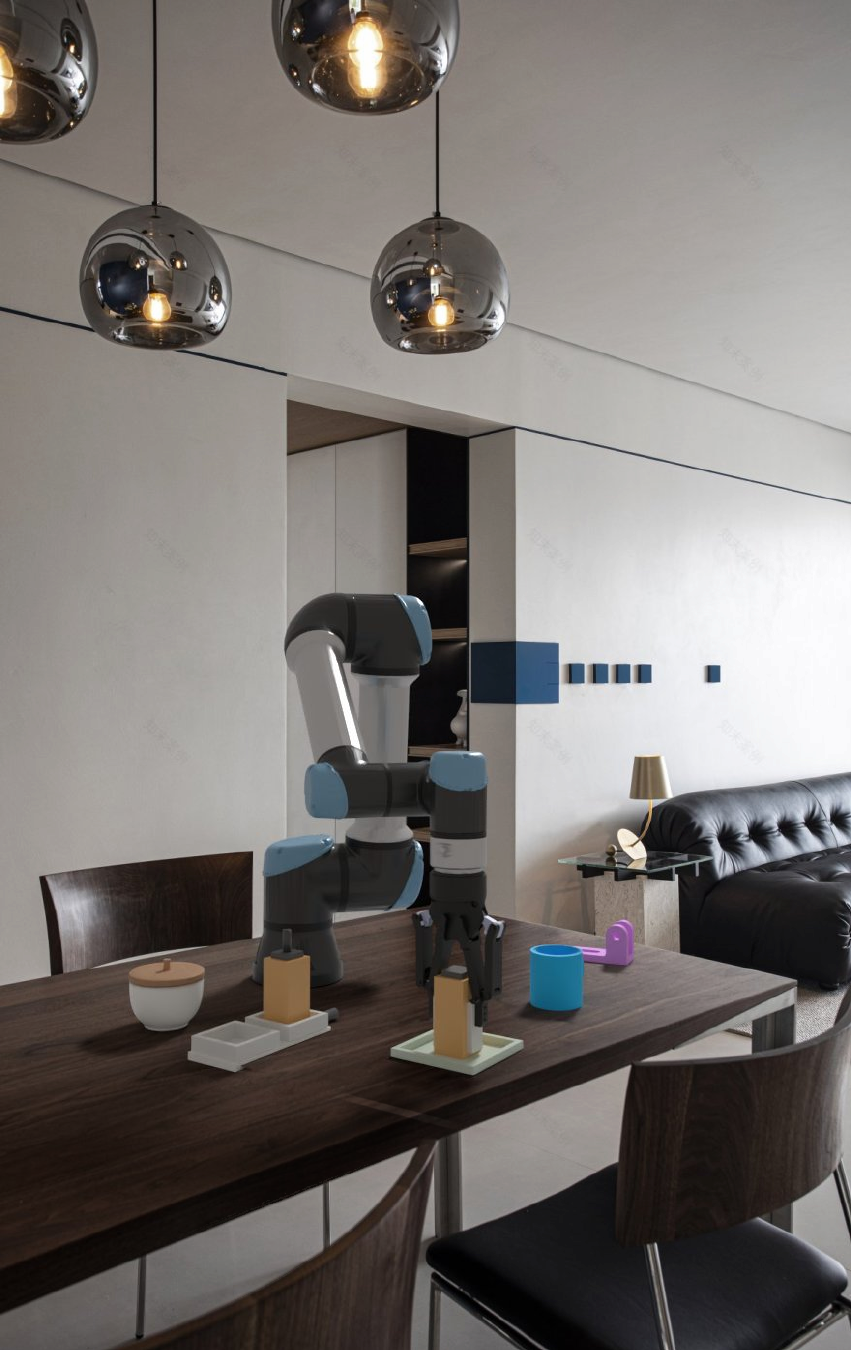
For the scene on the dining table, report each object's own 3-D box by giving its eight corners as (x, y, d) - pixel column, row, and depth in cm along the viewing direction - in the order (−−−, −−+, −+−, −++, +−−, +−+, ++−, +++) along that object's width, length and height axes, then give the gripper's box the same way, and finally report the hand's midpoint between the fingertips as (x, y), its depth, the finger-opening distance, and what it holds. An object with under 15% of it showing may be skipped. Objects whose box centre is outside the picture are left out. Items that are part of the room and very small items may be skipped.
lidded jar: (137, 1040, 151) (138, 971, 151) (120, 1020, 160) (121, 955, 161) (213, 1029, 156) (214, 963, 156) (193, 1010, 165) (193, 947, 165)
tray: (390, 1060, 143) (390, 1048, 143) (444, 1035, 153) (444, 1024, 153) (473, 1079, 136) (473, 1066, 136) (523, 1052, 146) (523, 1040, 146)
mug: (565, 1014, 164) (565, 959, 164) (519, 1004, 169) (519, 951, 169) (605, 997, 174) (605, 945, 174) (560, 988, 179) (560, 937, 179)
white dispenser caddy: (234, 1072, 138) (235, 953, 138) (187, 1059, 143) (188, 945, 143) (357, 1023, 159) (357, 920, 159) (312, 1013, 164) (312, 914, 164)
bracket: (634, 959, 199) (633, 920, 199) (626, 966, 194) (626, 926, 194) (564, 952, 204) (564, 914, 204) (555, 958, 199) (555, 920, 199)
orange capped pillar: (434, 1053, 144) (434, 970, 144) (452, 1044, 147) (452, 963, 148) (463, 1059, 141) (463, 975, 141) (481, 1050, 145) (481, 968, 145)
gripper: (387, 866, 147) (386, 1042, 146) (501, 878, 137) (501, 1067, 136) (419, 859, 153) (418, 1028, 152) (530, 871, 143) (530, 1051, 143)
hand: (457, 1046), depth 144 cm, fingers closed on orange capped pillar, 4 cm apart
